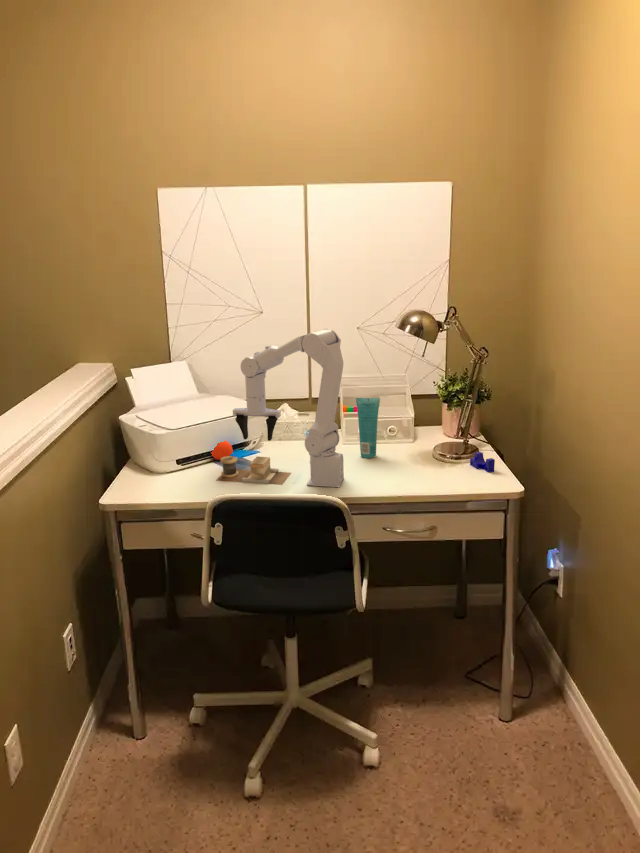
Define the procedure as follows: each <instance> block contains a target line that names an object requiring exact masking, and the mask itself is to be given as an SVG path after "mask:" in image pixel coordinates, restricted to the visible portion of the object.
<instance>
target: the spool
mask: <svg viewBox="0 0 640 853" xmlns="http://www.w3.org/2000/svg"><path fill="white" fill-rule="evenodd" d="M238 460H239V459H238V457H237V456H235V455H234V456H226V457H223V458H221V459H220V460H219V461H220V462H219V463H221V464H222V471H221V473H220V476H222V477H224V478H233V477H236V476H238V471H236V469H237V462H239V461H238Z"/></svg>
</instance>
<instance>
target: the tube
mask: <svg viewBox="0 0 640 853" xmlns="http://www.w3.org/2000/svg"><path fill="white" fill-rule="evenodd" d="M380 400H381V397H355V402H356V411H357V420H358V434H359V450H360V457H361V458H364V459H373V458H375V457H376V456H377V442H378V441H377V437H378V434H377V433H378V421H379V420H378V419H379V407H380V402H381V401H380Z"/></svg>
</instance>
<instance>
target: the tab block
mask: <svg viewBox="0 0 640 853" xmlns="http://www.w3.org/2000/svg"><path fill="white" fill-rule="evenodd" d="M270 468H271V458H270V456H256V457H255V458H254V459H253V460H251V462H249V470H250V471H251V478H257V479H266V478H267V477H268V476H269V474H270V473H271V472H270Z"/></svg>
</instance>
